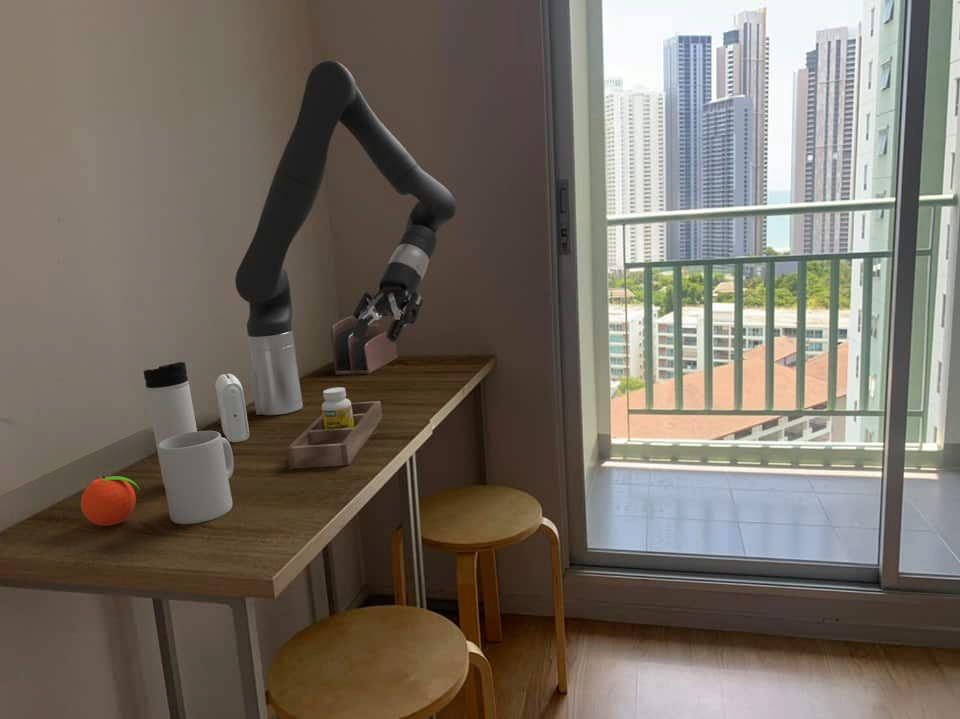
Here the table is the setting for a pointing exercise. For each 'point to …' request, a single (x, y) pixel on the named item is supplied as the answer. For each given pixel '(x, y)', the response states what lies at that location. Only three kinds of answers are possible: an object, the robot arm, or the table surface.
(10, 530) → the table surface
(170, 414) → the travel mug
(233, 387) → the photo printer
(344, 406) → the supplement bottle
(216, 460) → the mug
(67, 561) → the table surface
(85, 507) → the clementine
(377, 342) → the letter holder
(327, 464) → the compartment tray
